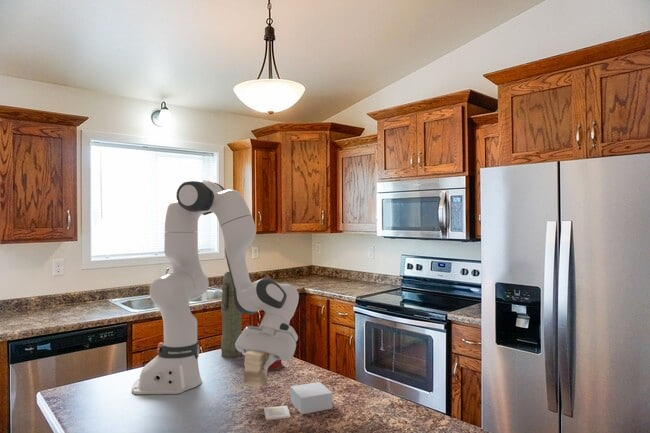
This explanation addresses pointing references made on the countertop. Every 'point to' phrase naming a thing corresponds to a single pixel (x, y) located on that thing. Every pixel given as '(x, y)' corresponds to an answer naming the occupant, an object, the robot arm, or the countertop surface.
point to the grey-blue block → (311, 397)
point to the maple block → (255, 369)
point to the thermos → (229, 320)
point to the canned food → (275, 364)
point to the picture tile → (276, 412)
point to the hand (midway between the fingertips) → (255, 367)
